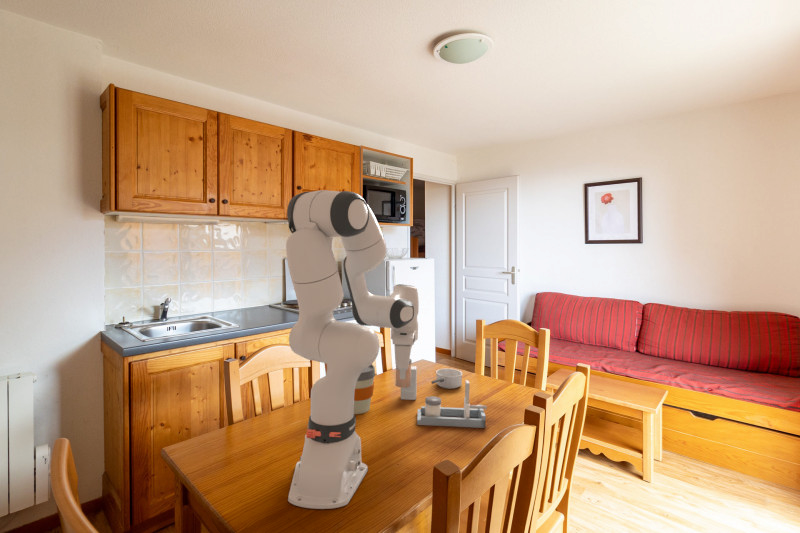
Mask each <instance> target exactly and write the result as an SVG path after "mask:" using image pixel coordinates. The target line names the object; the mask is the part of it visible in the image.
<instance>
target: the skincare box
mask: <svg viewBox="0 0 800 533" xmlns="http://www.w3.org/2000/svg"><path fill="white" fill-rule="evenodd" d="M417 367H418V366H416V365H415V366H414V365H411V386H410V387H406V388H402V387H400V400H408V401H409V400H410V401H411V400H412V401H414V400H415V401H416V399H417V393H418V392H417V389H418V388H417V380H418V379H417V374H418V373H417V371H418V368H417Z"/></svg>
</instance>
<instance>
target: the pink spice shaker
mask: <svg viewBox="0 0 800 533" xmlns="http://www.w3.org/2000/svg"><path fill="white" fill-rule="evenodd" d="M412 361H413V360H412V359H411V358H410V360H409V366H408V370H406V377H405V379H400V370H397V369H396V368H395V387H397V388H398V387H399V388H401V387H402V388H406V387H410V386H411V366H412V364H413V363H412Z"/></svg>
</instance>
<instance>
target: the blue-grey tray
mask: <svg viewBox="0 0 800 533" xmlns="http://www.w3.org/2000/svg"><path fill="white" fill-rule="evenodd" d="M478 405H479V406H483V405H482V404H478ZM486 419H487V418H486V413H485V409H476V408H470V414H469V418H464V407H449V406H448V407H445V406H444V407H443V406H441V415H440V417H435V416H425V405H424V406H420V408H417V418H416V425H417V426H437V427H457V428H481V429H482V428H483V429H486V423H487V422H486Z"/></svg>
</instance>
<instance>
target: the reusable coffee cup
mask: <svg viewBox="0 0 800 533" xmlns="http://www.w3.org/2000/svg"><path fill="white" fill-rule="evenodd" d="M375 377H376V370H375V366H374V365H373V364H371V365H370V366H369V367H367V368H366V369H365V370H364V371H363V372H362V373H361V374H360V376H359V378H358V380H357V383H356V386H355V395H354V414H355V415H360V414H364V413H367V412H369V411H370V407H371V403H372V402H371V401H372V397H373V396H374V388H375V381H374V380H375Z"/></svg>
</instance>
